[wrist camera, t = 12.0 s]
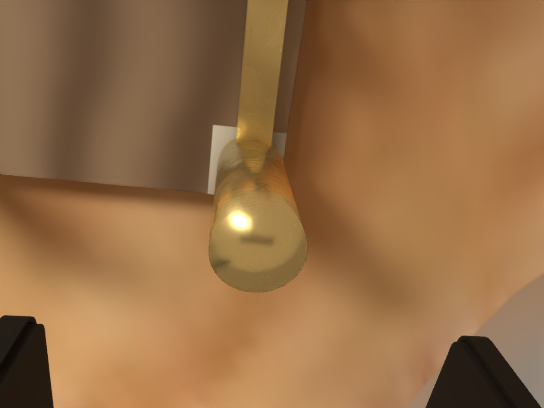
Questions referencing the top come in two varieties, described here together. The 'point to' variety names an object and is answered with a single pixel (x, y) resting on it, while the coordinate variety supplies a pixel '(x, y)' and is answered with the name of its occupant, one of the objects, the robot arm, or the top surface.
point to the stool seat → (129, 89)
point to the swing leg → (257, 172)
